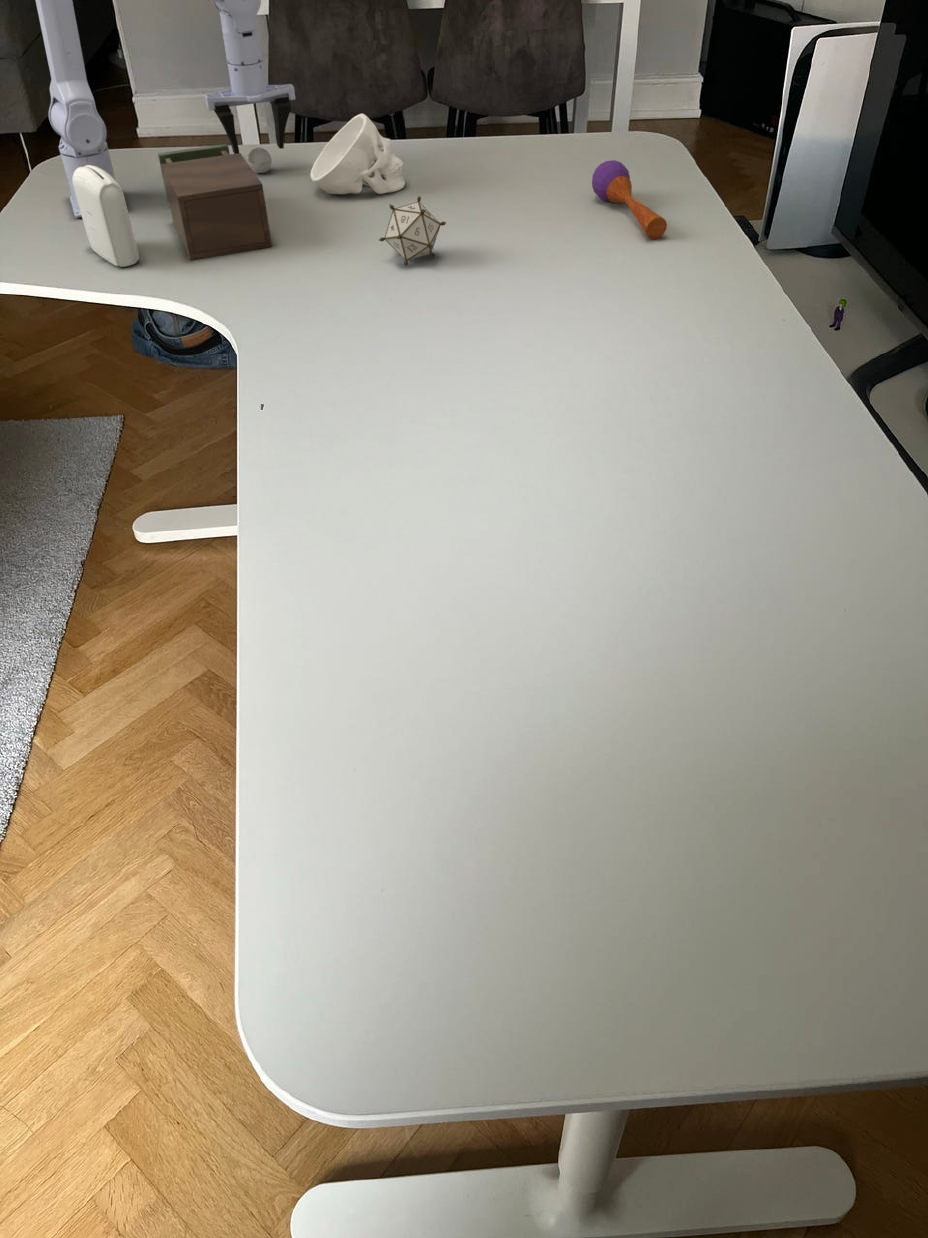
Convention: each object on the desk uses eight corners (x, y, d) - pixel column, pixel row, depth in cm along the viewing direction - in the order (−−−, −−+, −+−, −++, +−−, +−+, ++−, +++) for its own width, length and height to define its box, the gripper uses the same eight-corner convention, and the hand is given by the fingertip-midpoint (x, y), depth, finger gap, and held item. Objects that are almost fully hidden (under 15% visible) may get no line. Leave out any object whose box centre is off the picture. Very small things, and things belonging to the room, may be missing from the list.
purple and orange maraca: (636, 215, 144) (584, 160, 157) (638, 252, 148) (587, 196, 161) (674, 202, 144) (619, 149, 157) (675, 240, 149) (621, 185, 162)
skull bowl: (421, 185, 161) (376, 120, 153) (353, 238, 165) (305, 178, 157) (409, 163, 169) (366, 100, 161) (344, 215, 172) (299, 156, 164)
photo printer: (87, 249, 148) (63, 162, 140) (114, 241, 150) (91, 155, 142) (116, 270, 142) (93, 181, 134) (144, 262, 144) (123, 174, 136)
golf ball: (246, 175, 170) (242, 151, 168) (254, 167, 173) (250, 143, 170) (269, 176, 170) (265, 152, 167) (276, 168, 173) (272, 144, 170)
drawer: (163, 191, 163) (153, 144, 158) (229, 181, 166) (221, 135, 161) (182, 230, 151) (171, 180, 146) (253, 219, 153) (245, 170, 148)
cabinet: (173, 224, 155) (160, 163, 148) (250, 212, 158) (240, 152, 152) (190, 260, 145) (177, 196, 138) (271, 246, 148) (262, 183, 142)
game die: (403, 286, 145) (357, 235, 140) (424, 245, 149) (379, 193, 143) (445, 269, 139) (399, 215, 133) (466, 227, 142) (422, 172, 137)
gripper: (204, 72, 155) (220, 163, 164) (295, 61, 159) (305, 150, 168) (196, 61, 160) (212, 150, 169) (284, 51, 164) (295, 138, 173)
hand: (258, 149), depth 169 cm, fingers open, 7 cm apart
